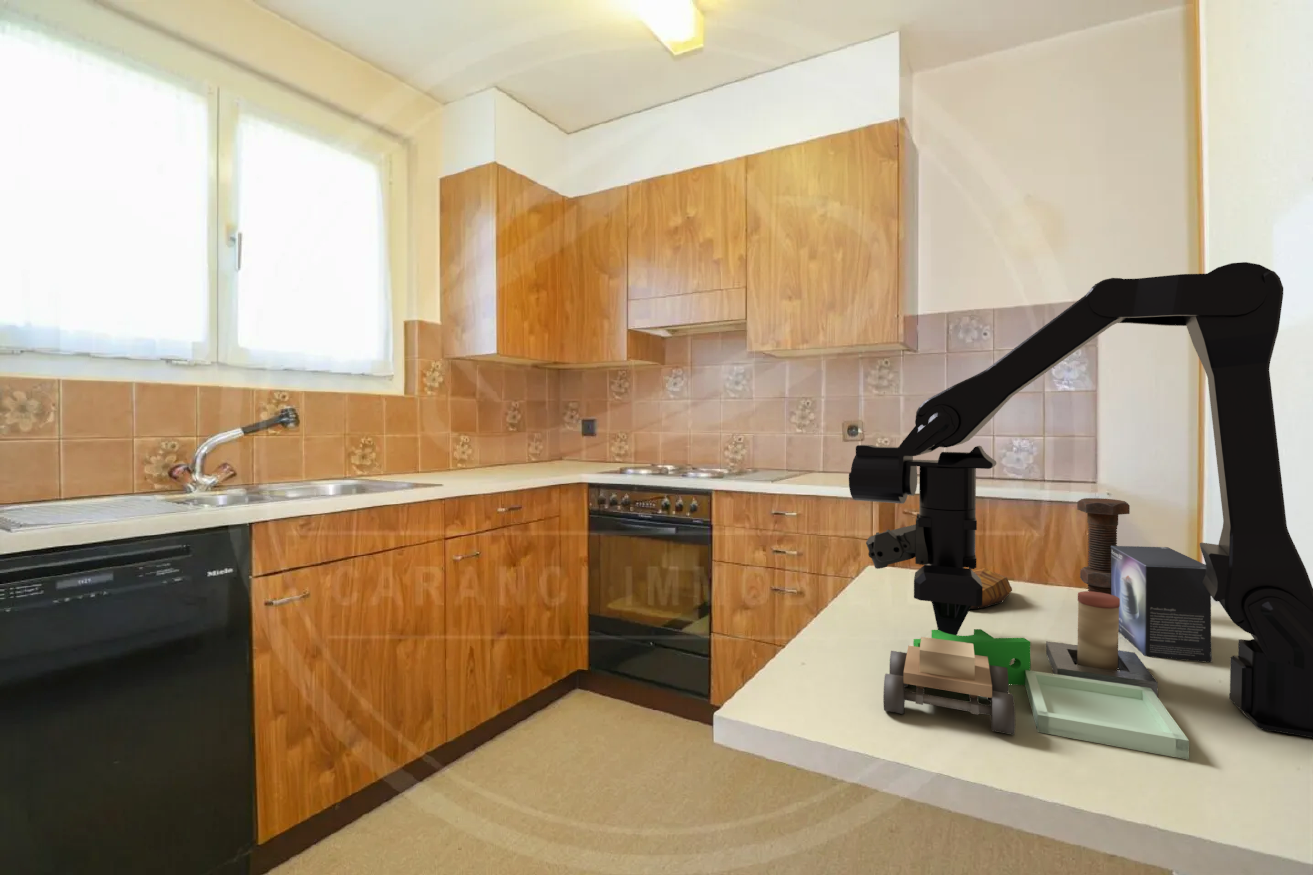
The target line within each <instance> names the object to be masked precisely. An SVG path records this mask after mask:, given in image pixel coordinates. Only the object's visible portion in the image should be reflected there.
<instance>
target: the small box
mask: <svg viewBox="0 0 1313 875" xmlns="http://www.w3.org/2000/svg"><path fill="white" fill-rule="evenodd" d="M1205 575H1206V563H1202V562H1201V561H1198V560H1196V559H1194V558H1191V557H1190V556H1187V555H1186V554H1184V553H1181V552H1179V551H1176V550H1174V549H1172V548H1170V547H1167V546H1139V545H1138V546H1134V545H1117V546H1111V595H1114V596H1116V597H1118V598H1119V599H1120V607H1119V634H1120V635H1122V636H1123V637H1124V638H1125V639H1126V640H1127V641H1128V642H1129V643H1130V644H1131V645H1132V646H1134V648H1136V649H1137V650H1138V651H1139V652H1140V653H1141V654H1142V655H1143V656H1144V657H1149V658H1161V659H1169V660H1170V659H1171V660H1181V661H1193V662H1204V663H1212V662H1213V655H1212V654H1213V653H1212V652H1213V648H1212V596H1211V595H1210V593H1209V592H1208V590H1207V589H1206V587H1205V586H1204V584H1203V580H1204V577H1205Z"/></svg>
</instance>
